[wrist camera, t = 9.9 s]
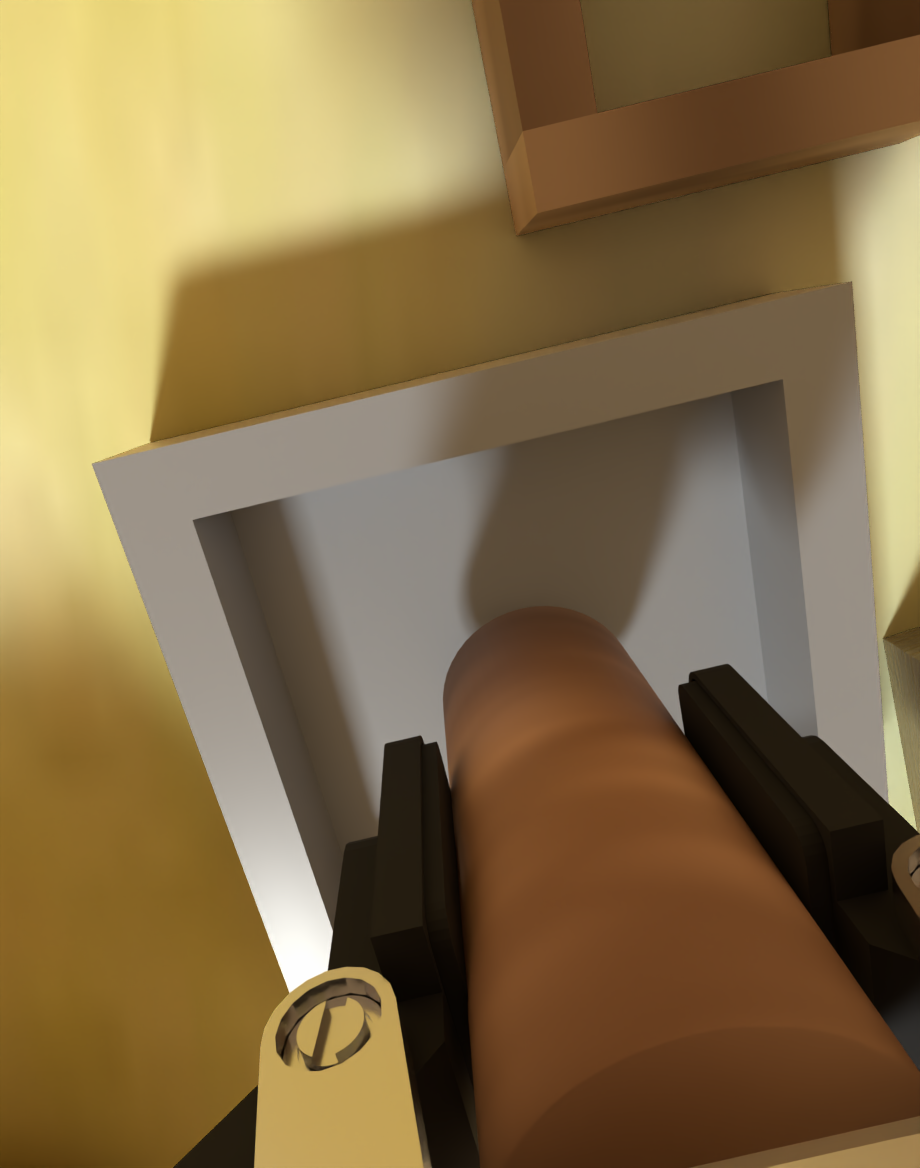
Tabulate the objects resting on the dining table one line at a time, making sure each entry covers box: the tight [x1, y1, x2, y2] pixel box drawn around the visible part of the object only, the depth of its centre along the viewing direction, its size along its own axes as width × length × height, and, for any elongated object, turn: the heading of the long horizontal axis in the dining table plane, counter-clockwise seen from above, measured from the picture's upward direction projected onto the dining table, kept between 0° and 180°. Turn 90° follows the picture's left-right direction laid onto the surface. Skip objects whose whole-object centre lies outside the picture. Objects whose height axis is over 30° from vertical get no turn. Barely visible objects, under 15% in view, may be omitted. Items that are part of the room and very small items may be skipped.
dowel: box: [443, 606, 920, 1168], centre depth 10 cm, size 4×4×9 cm
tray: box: [92, 282, 889, 993], centre depth 15 cm, size 12×12×3 cm
